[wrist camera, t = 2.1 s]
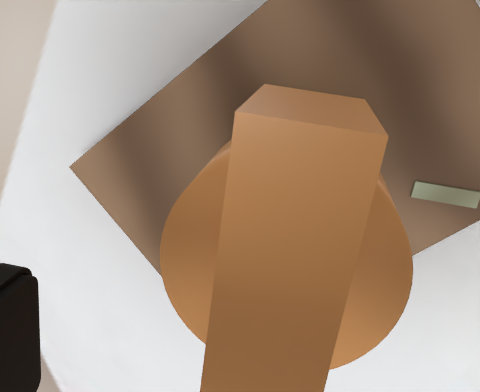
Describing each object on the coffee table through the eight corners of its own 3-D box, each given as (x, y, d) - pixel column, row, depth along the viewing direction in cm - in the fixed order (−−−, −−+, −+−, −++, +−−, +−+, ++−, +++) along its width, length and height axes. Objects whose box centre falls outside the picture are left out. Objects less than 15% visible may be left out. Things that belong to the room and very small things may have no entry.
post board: (398, -102, 19) (445, -184, 12) (553, 157, 22) (673, 222, 14) (87, 157, 26) (-7, 207, 19) (233, 333, 28) (202, 439, 21)
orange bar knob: (209, 60, 15) (98, 88, 7) (427, 92, 14) (547, 161, 7) (183, 324, 19) (92, 517, 11) (353, 361, 18) (376, 595, 10)
